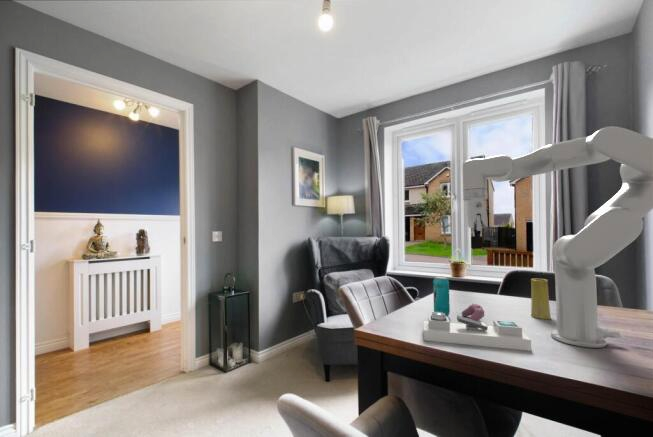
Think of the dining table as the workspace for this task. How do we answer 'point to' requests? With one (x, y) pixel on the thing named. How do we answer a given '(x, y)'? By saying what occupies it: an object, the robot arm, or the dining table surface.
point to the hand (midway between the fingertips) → (476, 248)
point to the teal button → (506, 324)
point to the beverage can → (441, 295)
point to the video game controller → (474, 312)
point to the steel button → (438, 316)
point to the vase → (540, 299)
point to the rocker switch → (472, 322)
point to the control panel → (477, 334)
